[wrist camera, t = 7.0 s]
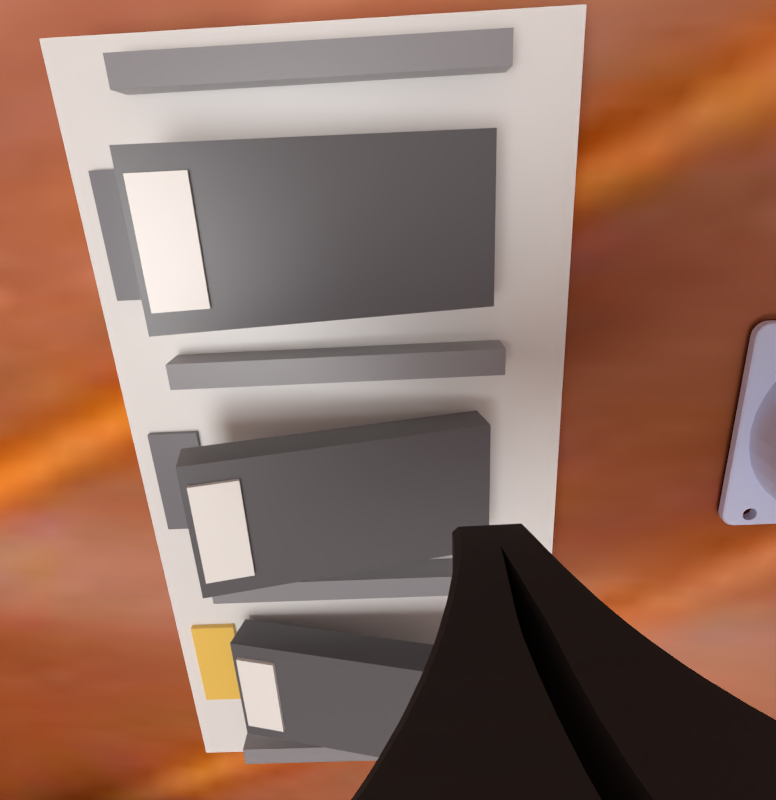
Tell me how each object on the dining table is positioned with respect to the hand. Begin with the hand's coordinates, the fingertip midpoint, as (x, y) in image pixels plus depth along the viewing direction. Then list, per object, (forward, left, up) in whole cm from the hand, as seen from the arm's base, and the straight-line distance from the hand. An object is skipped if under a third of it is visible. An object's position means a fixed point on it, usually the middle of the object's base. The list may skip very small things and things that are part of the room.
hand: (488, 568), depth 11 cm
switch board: (+3, +2, -10) cm, 11 cm away
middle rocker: (+3, +2, -6) cm, 7 cm away
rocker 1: (+3, -6, -6) cm, 9 cm away
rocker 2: (+3, +10, -6) cm, 12 cm away
